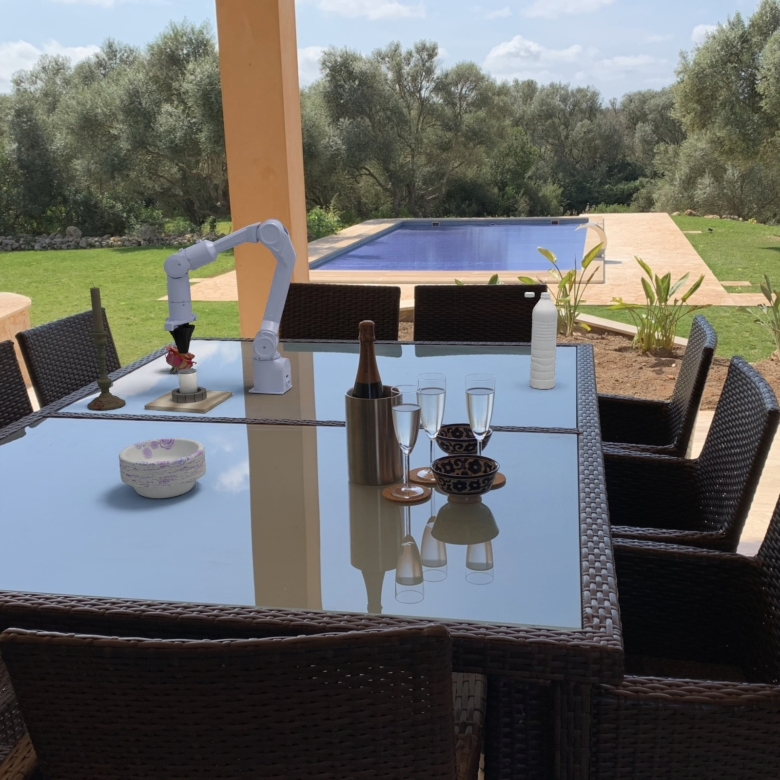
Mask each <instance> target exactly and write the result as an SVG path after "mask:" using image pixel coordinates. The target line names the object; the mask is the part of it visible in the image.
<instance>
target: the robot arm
mask: <svg viewBox="0 0 780 780" xmlns="http://www.w3.org/2000/svg"><path fill="white" fill-rule="evenodd" d="M259 242H260V244H262V245H263V246H264V247H265V248H267V249H268V250H269V251H270V252H271V254H272V255H273V257H274V258H275V260H276V264H275V269H274V272H273V273H274V274H273V277H272V281H271V285H270V288H269V293H268V297H267V302H266V305H265V309H264V313H263V317H262V321H261V324H260V327H259V331H258V332H257V333H255V337H254V340H253V342H252V345H251V349H252V352H253V354H252V372H253V376H252V377H253V387H251V388H250V389H249V390H248V393H249V394H250V393H252V394H253V393H255V394H266V395H267V394H269V395H270V394H271V395H283V394H285V393H286V392H287V391H289V390H290V389H292V388H293V385H292V367H291V361H290V359H289V358H287V357H282V356H281V352H279V350H278V346H279V344H280V343H279V342H280V337H279V329H280V324H281V319H282V315H283V311H284V308H285V304H286V300H287V296H288V292H289V289H290V284H291V280H292V278H293V277H292V276H293V272H294V269H295V265H296V260H297V254H296V251H295V248H294V245H293V242H292V239H291V236H290V233H289V231H288V229H287V228H286V226H285V225H284V224H283V222H281V221H280V220H279V219H277V218H268V219H266V220H264V221H263V222H262V221H257V222H255V223H252V224H249V225H246V226H244V227H242V228H239V229H238V230H236V231H234V232H232V233H229V234H227V235H225V236H223V237H221V238H219V239H216V240H215V241H212V240H211V241H210V240H208V239H204V240H202V239H201V238H200V239H197V240H196V241H195V244H193V245H191V246H188V247H186V248H183V247H181V248H178V252H174V253H172V254H170V255H168V256H167V257H166V258H165V260H164V262H163V271H164V273H165V274H166V290H167V291H166V292H167V302H168V303H167V305H168V315H169V316H167V317H165V321H166V322H164V324H163V327H164V331H165V332H169V333H170V335H171V337H172V338H173V341H174V342H175V347H176V348H177V350H178V352H179V354H187V353H188V352H190V344H191V339H192V336H193V334H194V331H195V329H196V325H195V324H193V323H192V322H197V321H198V313H197V312H196V313H195V312H193V309H192V295H191V292H192V291H191V283H190V274H189V271H196V270H198V269H200V268H202V267H204V266H207V265H210V264H211V263H214V262H215V261H217V258H218V255H219V254H220V253H222V252H225V251H228V250H231V249H232V248H235V247H237V246H239V245H242V244H245V243H250V244H251V243H252V244H258V243H259ZM191 323H192V324H191Z"/></svg>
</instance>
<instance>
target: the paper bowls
mask: <svg viewBox="0 0 780 780" xmlns="http://www.w3.org/2000/svg"><path fill="white" fill-rule="evenodd" d="M118 460H119V464H118V465H119V466H118V467H119V474H120V480H121V482H122V483H123V484H125V485H128V486H130V487H132V488H133V489H134V490H135V491H136V493H137V494H138V495H140V496H143V497H146V498H150V499H167V498H168V499H169V498H174V497H177V496H181V495H184V494H186V493H188V492H189V491H190V490H192V489H193V488H194V486H195V483H196V481H197V480H199V479H201V478H202V477H203V476H205V474H206V472H207V467H206V466H207V463H206V449H205V446H204V444H203V443H201V442H200V441H197V440H196V439H191V438H190V439H189V438H183V437H171V438H170V437H166V438H155V439H150V440H149V439H148V440H144V441H139V442H137V443H134V444H131V445H129V446H126V447H124V448H123V449H122V450H120V452H119V455H118Z"/></svg>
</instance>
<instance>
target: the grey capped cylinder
mask: <svg viewBox="0 0 780 780" xmlns="http://www.w3.org/2000/svg"><path fill="white" fill-rule="evenodd" d="M177 375H178V378H177V379H178V388H179V391H180V394H193V393H198V389H197V387H198V378H197V369H195V368H190V369H181V370H178V371H177Z"/></svg>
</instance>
